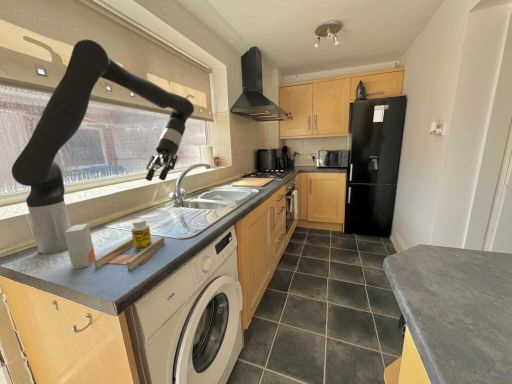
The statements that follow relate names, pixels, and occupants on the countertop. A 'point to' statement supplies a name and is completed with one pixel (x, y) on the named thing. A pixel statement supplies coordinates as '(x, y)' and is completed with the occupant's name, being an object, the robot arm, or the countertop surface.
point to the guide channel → (129, 260)
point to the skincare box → (80, 246)
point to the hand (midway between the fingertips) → (154, 179)
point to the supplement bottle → (141, 234)
